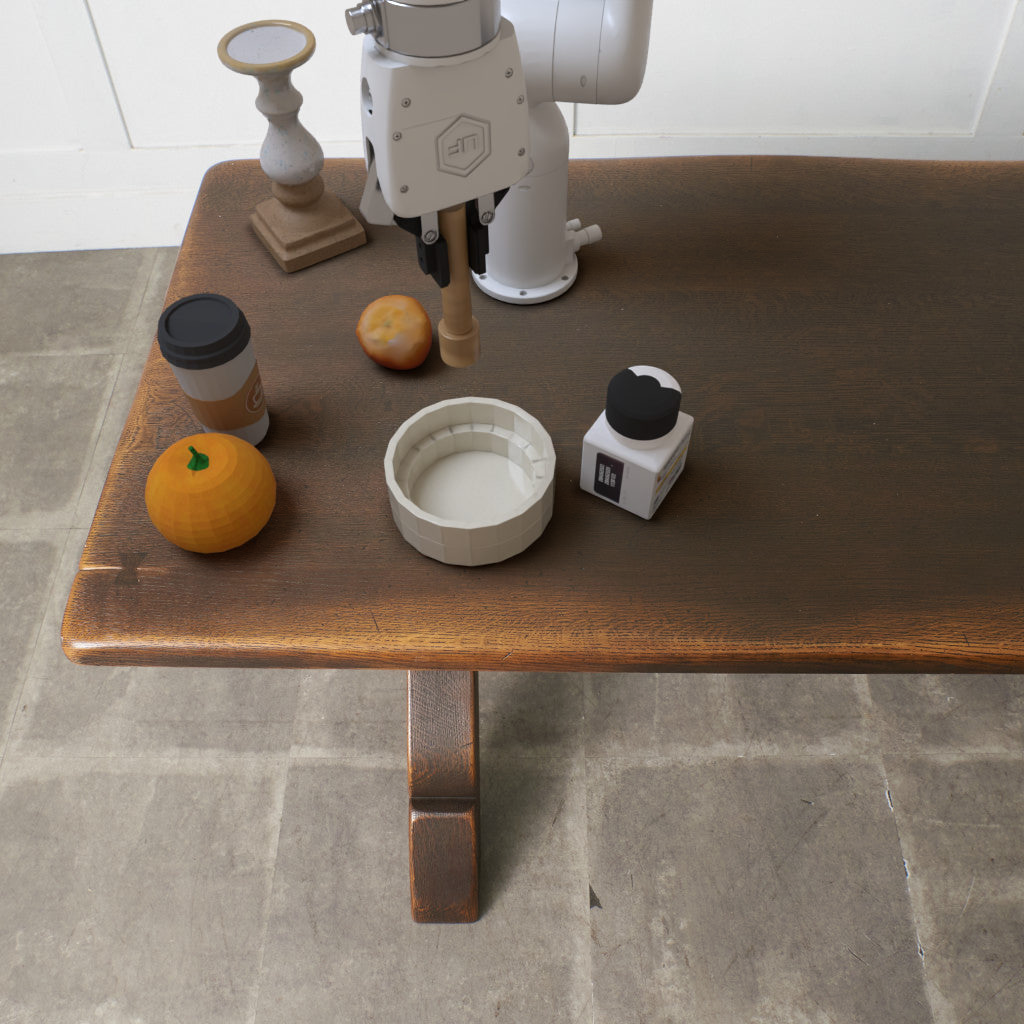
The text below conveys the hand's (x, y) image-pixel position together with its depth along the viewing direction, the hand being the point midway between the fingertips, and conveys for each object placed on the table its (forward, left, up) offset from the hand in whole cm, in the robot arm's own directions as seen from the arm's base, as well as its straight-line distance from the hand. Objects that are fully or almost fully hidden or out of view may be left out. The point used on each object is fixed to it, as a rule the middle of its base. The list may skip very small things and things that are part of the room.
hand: (454, 268), depth 68 cm
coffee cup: (+17, -20, -28) cm, 39 cm away
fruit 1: (+22, -10, -28) cm, 37 cm away
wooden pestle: (0, 0, -9) cm, 9 cm away
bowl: (0, 0, -28) cm, 28 cm away
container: (-15, +5, -28) cm, 33 cm away
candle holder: (-1, -47, -28) cm, 55 cm away
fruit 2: (-2, -22, -28) cm, 36 cm away
